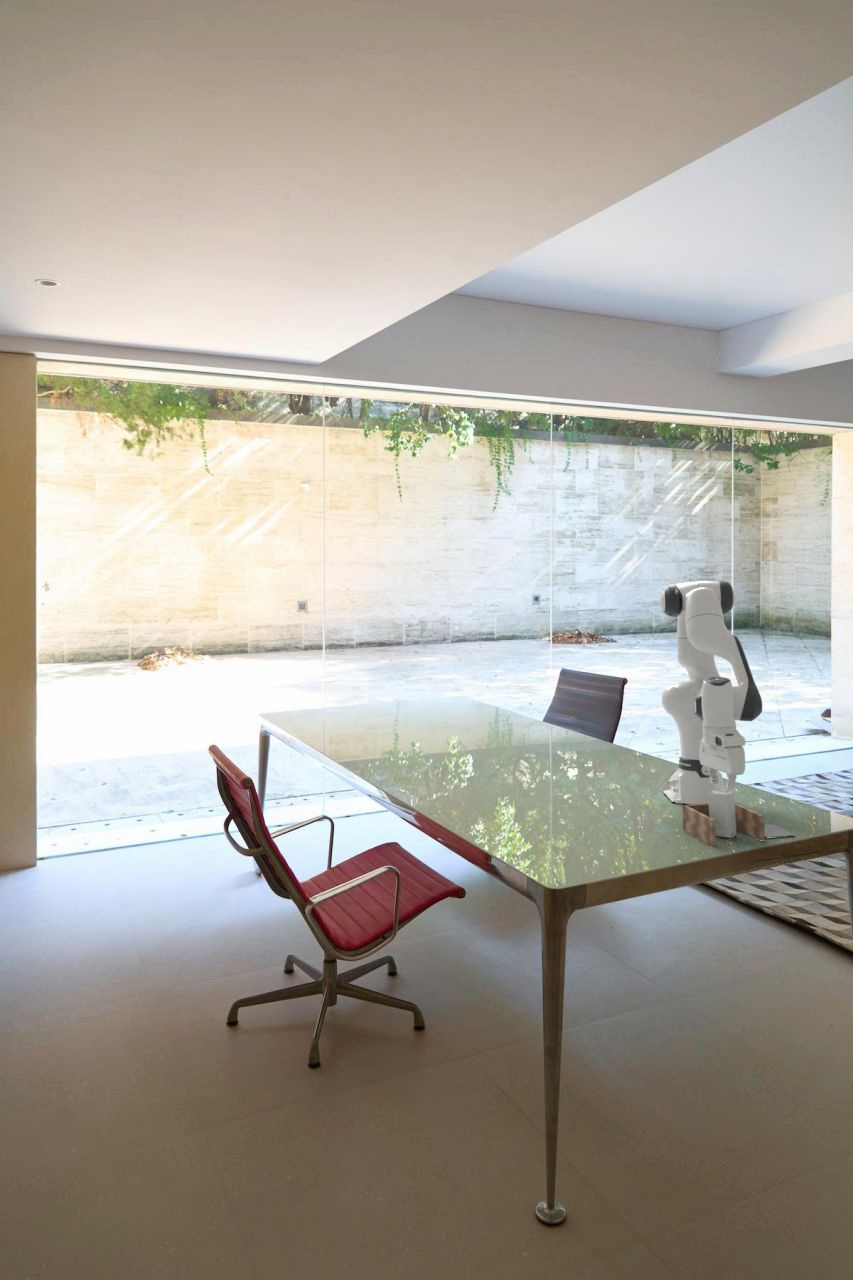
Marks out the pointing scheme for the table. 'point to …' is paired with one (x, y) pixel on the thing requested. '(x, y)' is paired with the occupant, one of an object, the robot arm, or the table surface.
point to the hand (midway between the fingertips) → (722, 786)
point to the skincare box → (723, 813)
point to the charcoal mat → (775, 831)
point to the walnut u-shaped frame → (704, 826)
